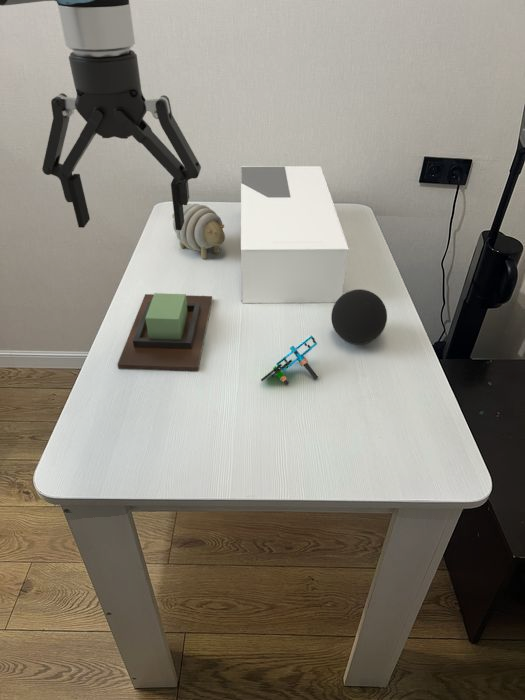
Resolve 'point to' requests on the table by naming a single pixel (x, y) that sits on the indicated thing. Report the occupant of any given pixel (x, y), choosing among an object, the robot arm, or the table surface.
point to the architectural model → (290, 237)
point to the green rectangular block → (167, 316)
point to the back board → (167, 340)
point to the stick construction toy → (300, 359)
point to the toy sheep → (200, 229)
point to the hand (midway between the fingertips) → (132, 224)
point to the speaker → (359, 316)
